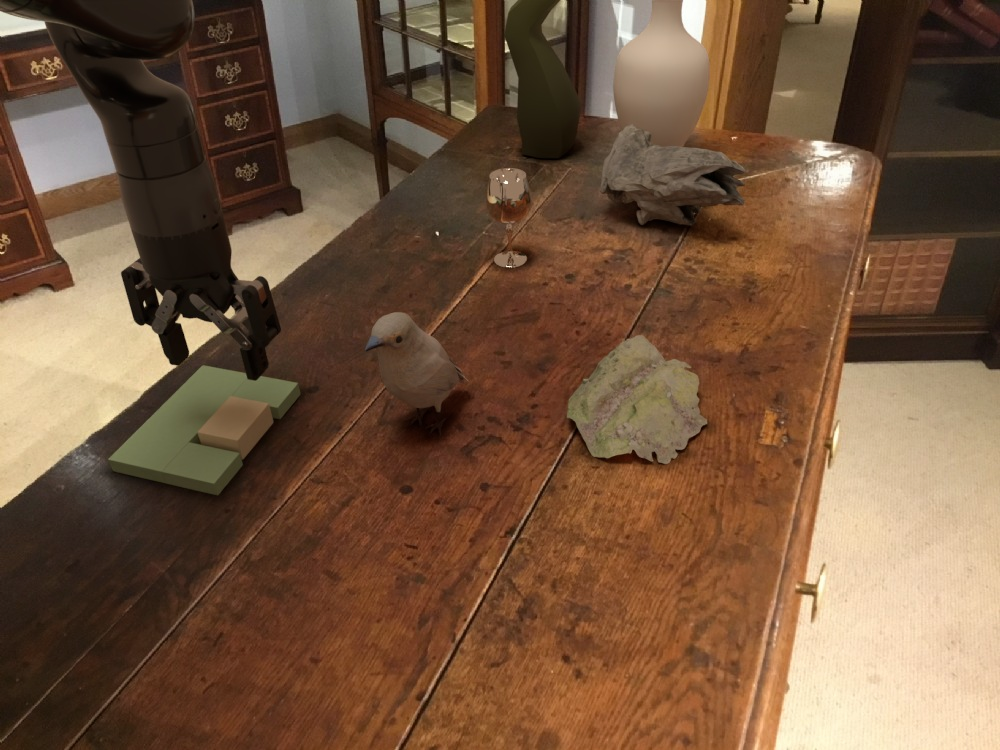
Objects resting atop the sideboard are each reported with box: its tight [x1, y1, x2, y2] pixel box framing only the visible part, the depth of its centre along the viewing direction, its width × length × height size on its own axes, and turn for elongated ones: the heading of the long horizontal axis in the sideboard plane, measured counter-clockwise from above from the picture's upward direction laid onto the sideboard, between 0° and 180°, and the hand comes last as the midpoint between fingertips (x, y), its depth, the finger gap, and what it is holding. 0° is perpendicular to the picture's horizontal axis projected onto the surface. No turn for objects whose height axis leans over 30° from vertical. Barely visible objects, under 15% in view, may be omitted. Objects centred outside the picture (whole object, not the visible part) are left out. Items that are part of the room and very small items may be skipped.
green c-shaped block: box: [107, 365, 302, 496], centre depth 87 cm, size 16×12×2 cm
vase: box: [612, 0, 711, 147], centre depth 129 cm, size 14×14×28 cm
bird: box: [363, 311, 470, 436], centre depth 83 cm, size 5×14×15 cm, turn 145°
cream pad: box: [197, 396, 274, 461], centre depth 86 cm, size 6×5×3 cm
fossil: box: [599, 125, 746, 227], centre depth 119 cm, size 20×18×15 cm
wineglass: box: [485, 167, 532, 269], centre depth 111 cm, size 6×6×12 cm
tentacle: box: [503, 0, 583, 159], centre depth 135 cm, size 9×12×30 cm
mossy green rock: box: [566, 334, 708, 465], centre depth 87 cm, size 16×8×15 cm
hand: (218, 368), depth 82 cm, fingers open, 8 cm apart
